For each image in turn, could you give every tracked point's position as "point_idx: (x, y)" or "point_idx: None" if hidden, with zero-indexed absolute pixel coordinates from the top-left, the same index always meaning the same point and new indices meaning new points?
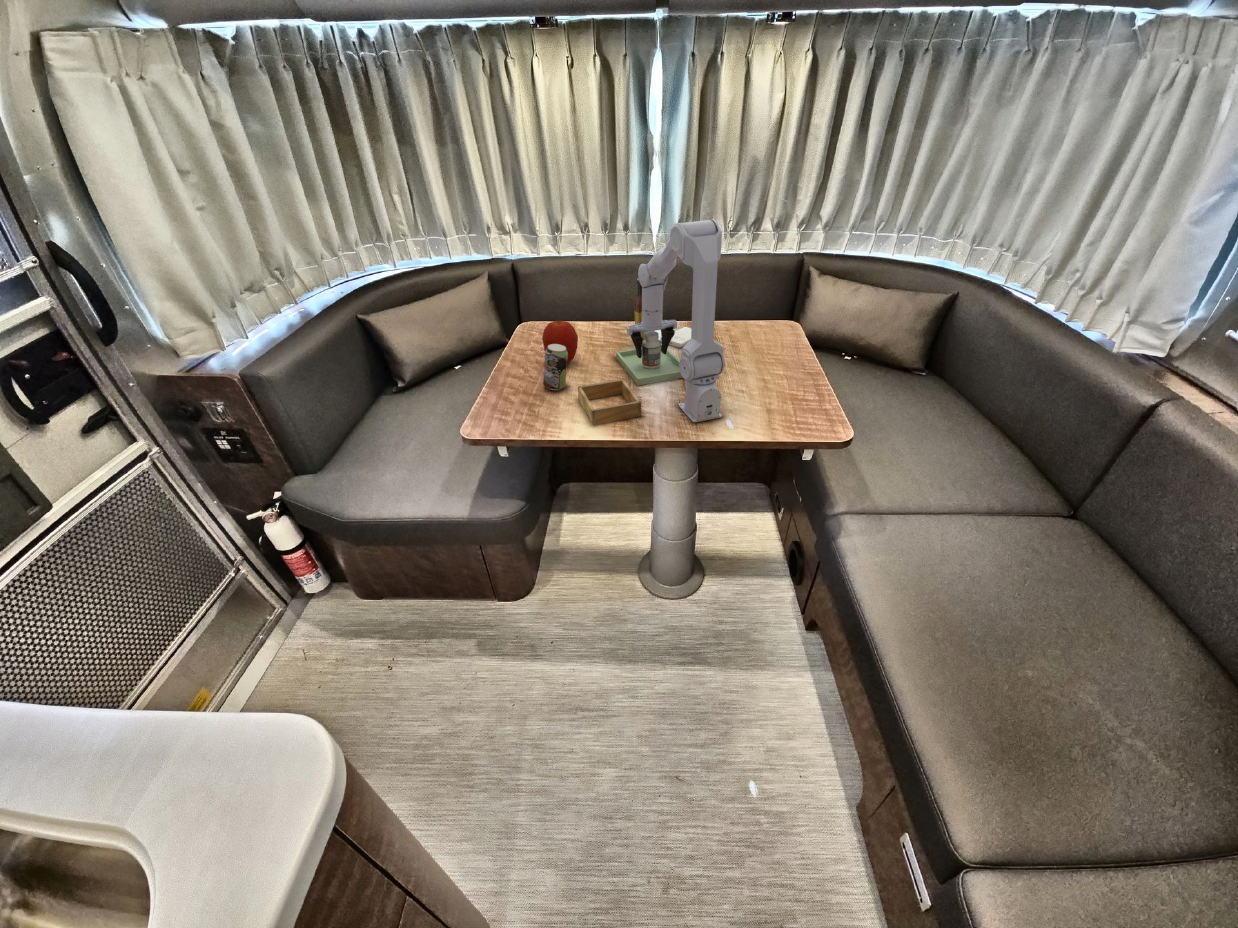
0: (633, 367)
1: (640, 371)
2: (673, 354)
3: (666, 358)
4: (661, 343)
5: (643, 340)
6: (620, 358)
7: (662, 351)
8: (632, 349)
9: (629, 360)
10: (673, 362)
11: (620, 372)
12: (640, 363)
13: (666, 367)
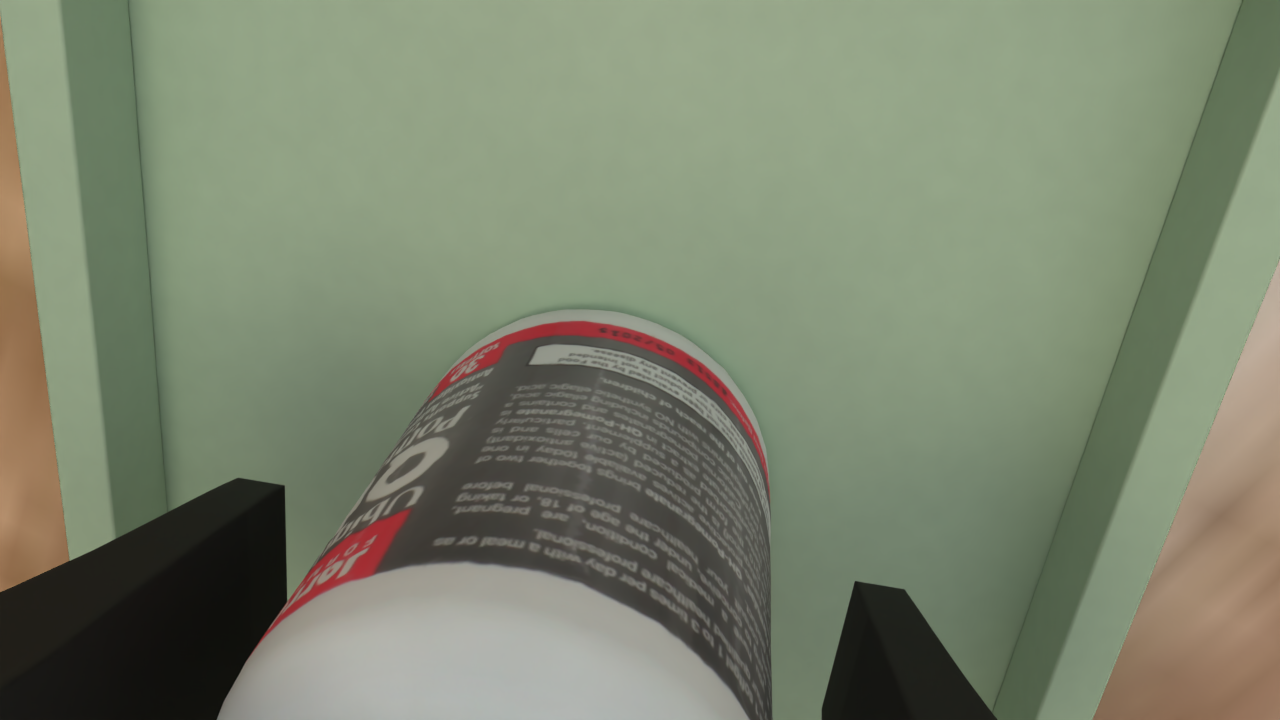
0: (258, 380)
1: None
2: (1177, 502)
3: (1043, 352)
4: (898, 692)
5: (263, 703)
6: (16, 59)
7: (845, 651)
8: None
9: (284, 53)
10: (1036, 559)
11: (24, 362)
12: (446, 293)
13: (795, 649)
